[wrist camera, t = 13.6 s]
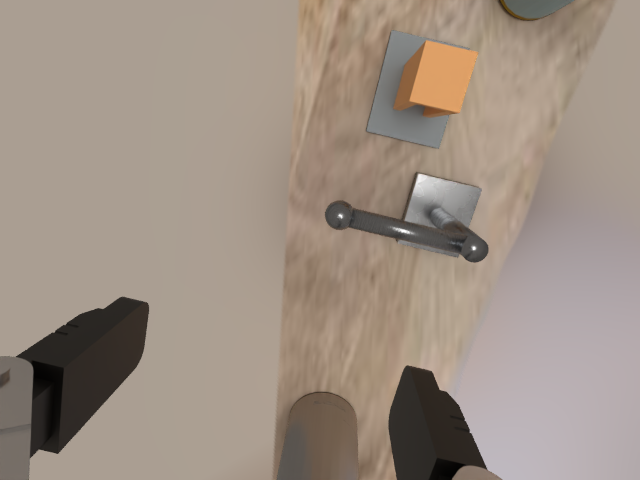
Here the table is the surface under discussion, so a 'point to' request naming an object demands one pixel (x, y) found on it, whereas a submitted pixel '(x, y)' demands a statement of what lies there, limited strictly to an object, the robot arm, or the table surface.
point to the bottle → (533, 7)
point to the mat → (383, 115)
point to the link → (436, 79)
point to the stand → (423, 218)
